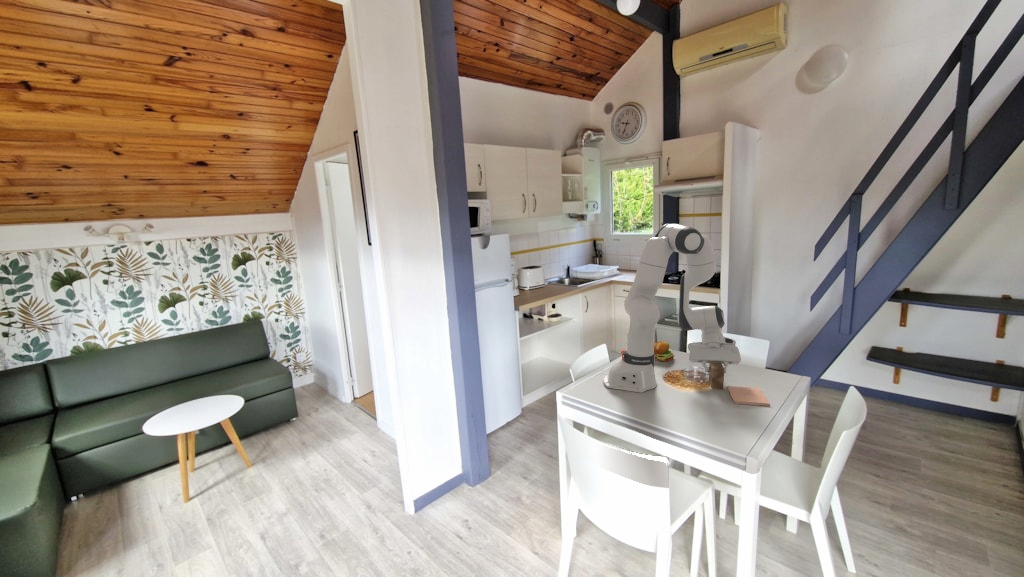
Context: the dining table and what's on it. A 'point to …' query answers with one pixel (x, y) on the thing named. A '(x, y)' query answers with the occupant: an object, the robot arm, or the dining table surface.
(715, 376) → the card box
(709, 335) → the robot arm
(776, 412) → the dining table surface
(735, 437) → the dining table surface
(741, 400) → the mat
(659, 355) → the cheeseburger
